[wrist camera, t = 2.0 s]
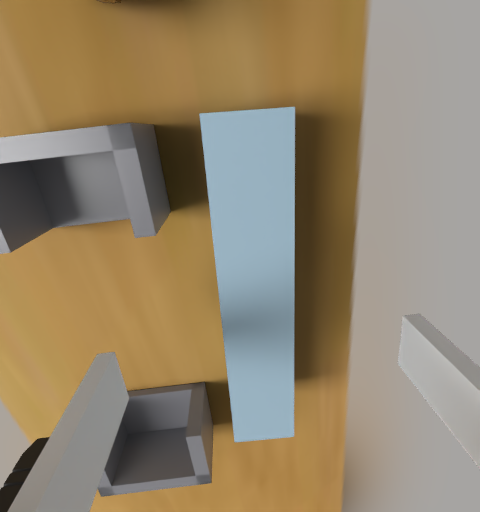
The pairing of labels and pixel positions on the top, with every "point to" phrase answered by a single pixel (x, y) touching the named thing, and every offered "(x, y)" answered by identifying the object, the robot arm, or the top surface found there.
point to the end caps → (144, 224)
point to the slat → (255, 261)
